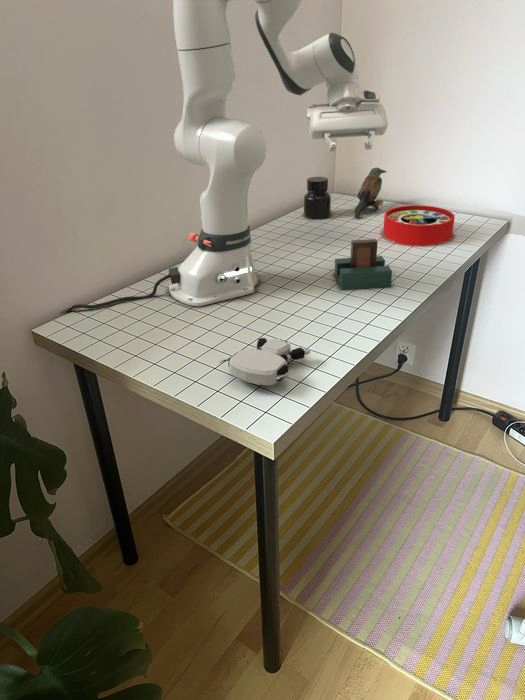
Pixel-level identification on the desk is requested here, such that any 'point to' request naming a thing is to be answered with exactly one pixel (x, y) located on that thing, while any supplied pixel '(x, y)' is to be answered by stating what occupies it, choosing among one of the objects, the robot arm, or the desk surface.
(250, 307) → the desk surface
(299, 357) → the robot toy
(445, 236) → the toy clock
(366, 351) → the desk surface
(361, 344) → the desk surface
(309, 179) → the ink bottle
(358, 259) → the frame
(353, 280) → the holder
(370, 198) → the bird figurine
